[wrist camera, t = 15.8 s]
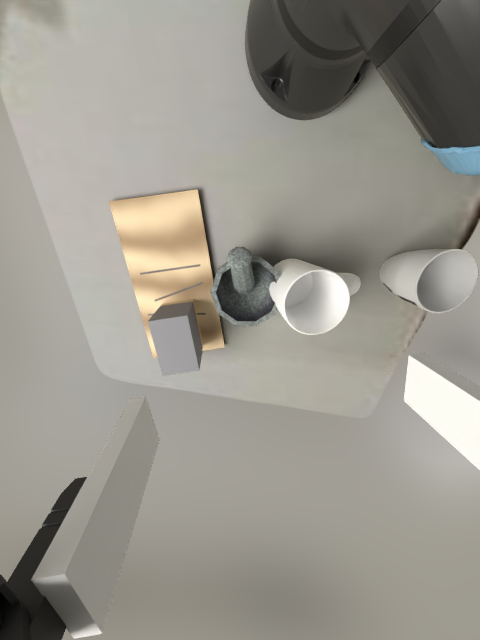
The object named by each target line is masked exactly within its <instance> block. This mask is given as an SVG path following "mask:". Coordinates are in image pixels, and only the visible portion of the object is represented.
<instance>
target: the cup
mask: <svg viewBox="0 0 480 640" xmlns="http://www.w3.org/2000/svg"><path fill="white" fill-rule="evenodd" d="M379 276H380V280H381V282H382V283H383V284H384V285H385V286H386V287H387V288H388V289H389V290H390V291H391V292H392V293H394V294H395V295H397V296H398V297H400V298H401V299H403V300H405V301H406V302H409V303H411V304H413V305H415V306H417V307H420V308H422V309H424V310H426V311H428V312H431V313H444V312H448V311H450V310H453V309H454V308H456V307H458V306H459V305H461V304H462V303H463V302H464V301H465V300H466V299H467V298H468V297H469V296H470V294H471V293H472V291H473V289H474V287H475V285H476V282H477V279H478V265H477V262H476V260H475V259H474V257H473V256H472V255H471V254H470V253H468V252H467V251H464V250H461V249H425V250H417V251H410V252H404V253H401V254H398V255H395V256H392V257H390V258H388V259H387V260H386V261H385V262H384V263H383V264H382V266H381V268H380V272H379Z"/></svg>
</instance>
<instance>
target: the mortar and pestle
mask: <svg viewBox="0 0 480 640" xmlns="http://www.w3.org/2000/svg"><path fill="white" fill-rule="evenodd" d="M227 261H228V262H227V263H225V264H224V265H223V266H221V267H220V268H218V270H217V273H216V276H215V279H214V282H213V285H212V288H211V292H210V293H211V296H212V299H213V302H214V305H215V308H216V311H217V313H218V314H219V315H220V316H222V317H223V318H225V319H226V320H228V321H229V322H230V323H232V324H233V325H235V326H258V325H259V324H261V323H262V322H264V321H265V320H267V319H269V318H270V317H272V316H273V315H275V314H276V311H277V307H276V305H275V302H274V301H273V299H272V297H271V295H270V291H269V287H270V284H271V282H275V283H277V281H278V279H279V278H280V274H279V271H277V270H276V269H275V268H274V267H273V266H271V265H270V264H269V263H268V262H267V261H265V260H264V259H263V258H262V257H260V256H251V253H250V251H249V250H247V249H246V248H244V247H235V248H234V249H232V250H231V251H230V252H229V254H228V257H227Z"/></svg>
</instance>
